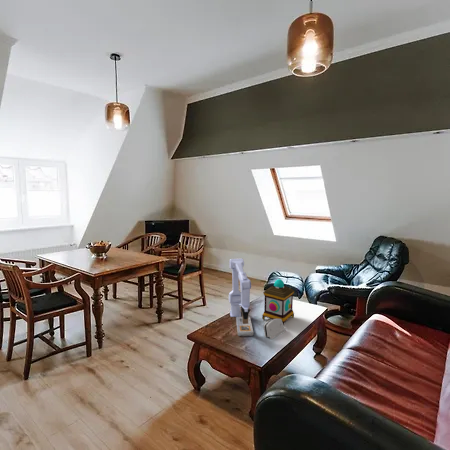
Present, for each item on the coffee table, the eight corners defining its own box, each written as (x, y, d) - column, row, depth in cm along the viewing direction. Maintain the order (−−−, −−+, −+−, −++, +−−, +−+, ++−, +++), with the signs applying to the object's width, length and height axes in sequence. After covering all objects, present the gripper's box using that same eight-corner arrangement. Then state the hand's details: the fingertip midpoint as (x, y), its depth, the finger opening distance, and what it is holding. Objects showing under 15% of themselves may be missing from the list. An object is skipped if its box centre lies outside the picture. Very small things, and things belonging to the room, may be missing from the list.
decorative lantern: (284, 327, 204) (285, 286, 200) (259, 319, 216) (260, 280, 212) (296, 317, 220) (298, 278, 216) (272, 310, 232) (273, 273, 227)
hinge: (270, 339, 189) (266, 323, 190) (265, 339, 193) (261, 323, 194) (286, 330, 200) (283, 315, 201) (281, 330, 204) (277, 315, 205)
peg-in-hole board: (236, 320, 216) (236, 316, 215) (249, 319, 216) (249, 316, 215) (238, 335, 194) (238, 332, 193) (253, 335, 194) (253, 331, 194)
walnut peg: (242, 321, 200) (242, 310, 198) (247, 321, 200) (247, 310, 198) (242, 323, 196) (242, 312, 195) (248, 323, 196) (248, 312, 195)
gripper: (238, 293, 202) (238, 312, 204) (240, 302, 188) (239, 322, 190) (248, 293, 202) (248, 312, 205) (251, 302, 188) (250, 322, 190)
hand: (245, 317), depth 197 cm, fingers closed on walnut peg, 4 cm apart
